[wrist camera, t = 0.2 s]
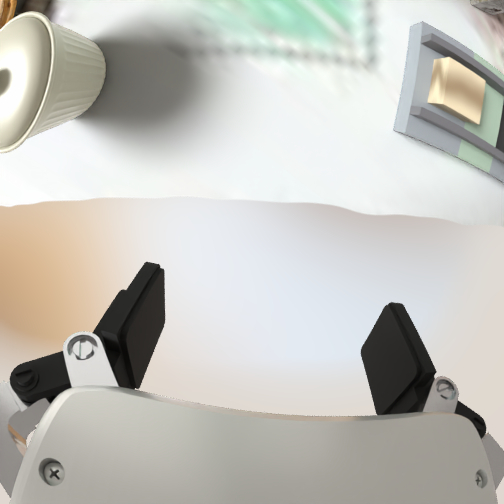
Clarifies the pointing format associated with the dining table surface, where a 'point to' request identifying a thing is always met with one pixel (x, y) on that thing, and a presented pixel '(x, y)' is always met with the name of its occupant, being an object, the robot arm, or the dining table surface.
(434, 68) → the maple block
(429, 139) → the lane deck
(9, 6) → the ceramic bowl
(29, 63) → the canister
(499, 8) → the coffee box
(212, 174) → the dining table surface
